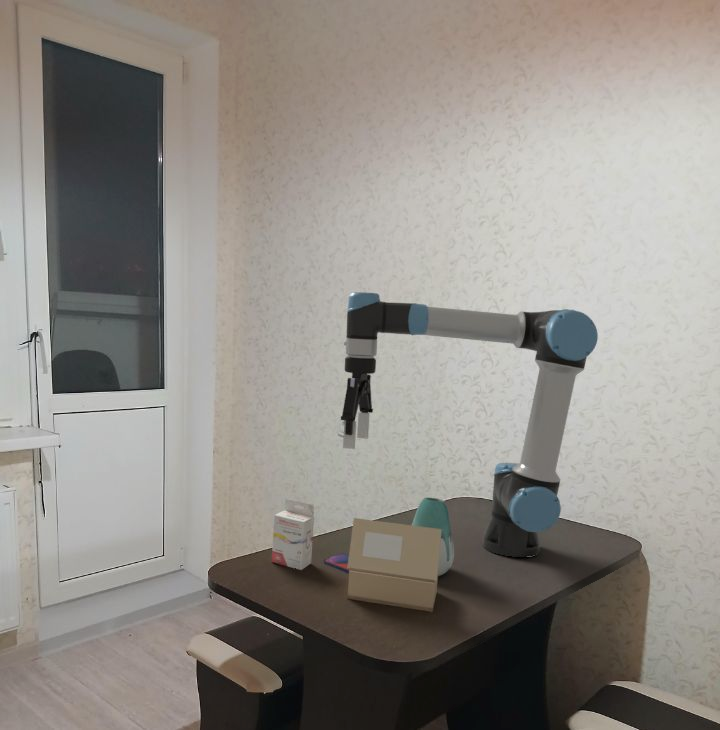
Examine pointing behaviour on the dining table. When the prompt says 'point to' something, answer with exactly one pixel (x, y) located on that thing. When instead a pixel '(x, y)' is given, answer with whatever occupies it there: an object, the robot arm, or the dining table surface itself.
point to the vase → (437, 517)
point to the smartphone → (338, 562)
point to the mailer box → (392, 591)
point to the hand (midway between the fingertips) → (356, 443)
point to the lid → (395, 550)
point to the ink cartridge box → (293, 535)
